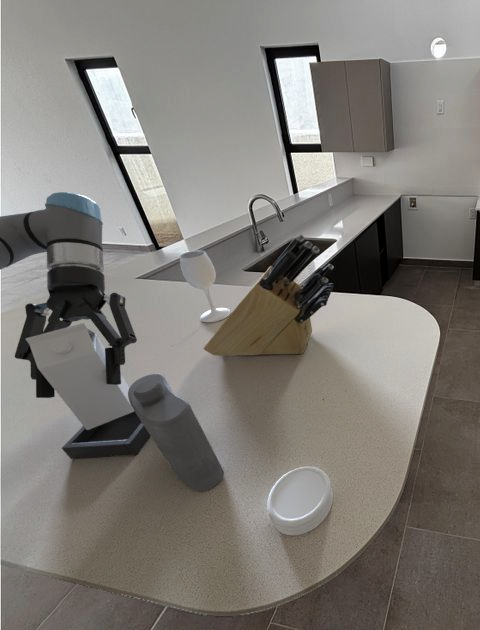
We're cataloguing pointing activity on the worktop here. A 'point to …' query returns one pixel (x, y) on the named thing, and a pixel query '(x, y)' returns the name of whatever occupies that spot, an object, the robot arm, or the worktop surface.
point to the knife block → (276, 308)
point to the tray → (109, 439)
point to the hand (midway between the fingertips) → (80, 390)
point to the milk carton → (80, 374)
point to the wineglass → (202, 280)
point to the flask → (175, 432)
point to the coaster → (300, 500)
